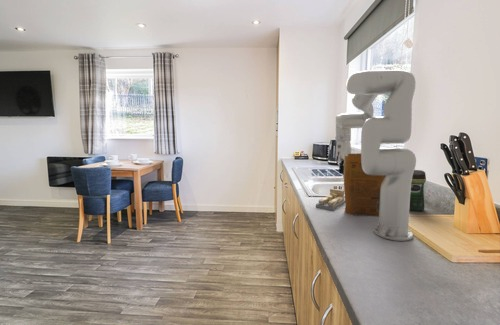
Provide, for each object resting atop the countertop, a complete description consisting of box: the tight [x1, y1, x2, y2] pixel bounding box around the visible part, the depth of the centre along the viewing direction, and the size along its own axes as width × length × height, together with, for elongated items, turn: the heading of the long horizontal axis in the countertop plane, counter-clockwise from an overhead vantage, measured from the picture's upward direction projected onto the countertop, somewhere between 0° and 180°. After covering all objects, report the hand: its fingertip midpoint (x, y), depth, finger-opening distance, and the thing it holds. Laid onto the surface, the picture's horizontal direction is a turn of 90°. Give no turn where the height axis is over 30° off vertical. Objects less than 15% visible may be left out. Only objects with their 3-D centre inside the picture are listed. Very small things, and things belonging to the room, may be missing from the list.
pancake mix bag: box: [342, 152, 386, 217], centre depth 117 cm, size 7×19×28 cm, turn 77°
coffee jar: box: [409, 169, 427, 212], centre depth 123 cm, size 10×8×19 cm
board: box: [315, 193, 345, 211], centre depth 135 cm, size 20×9×5 cm, turn 140°
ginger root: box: [318, 188, 345, 206], centre depth 133 cm, size 14×7×5 cm, turn 140°
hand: (342, 173), depth 140 cm, fingers closed
